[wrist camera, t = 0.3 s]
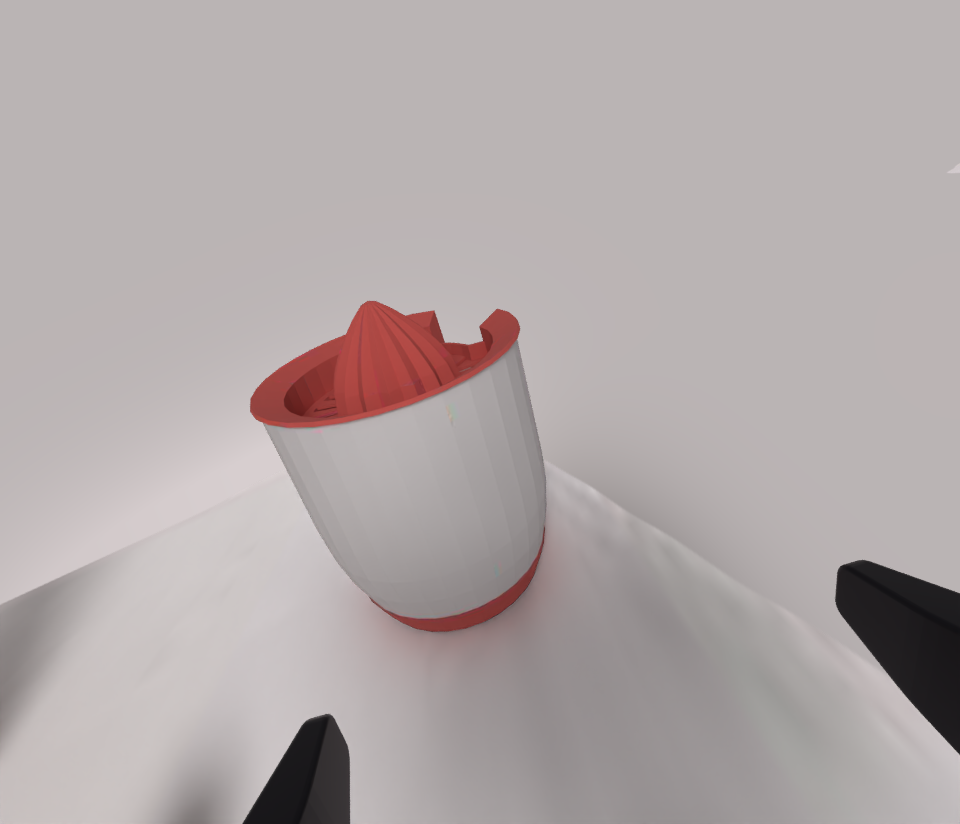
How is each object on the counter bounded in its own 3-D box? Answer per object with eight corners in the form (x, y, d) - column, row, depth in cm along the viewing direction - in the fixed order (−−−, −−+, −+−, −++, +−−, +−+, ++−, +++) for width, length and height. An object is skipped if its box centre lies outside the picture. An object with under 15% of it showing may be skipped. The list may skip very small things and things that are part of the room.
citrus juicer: (617, 511, 37) (577, 239, 28) (477, 716, 26) (338, 372, 17) (462, 471, 46) (397, 261, 38) (314, 606, 35) (172, 354, 27)
